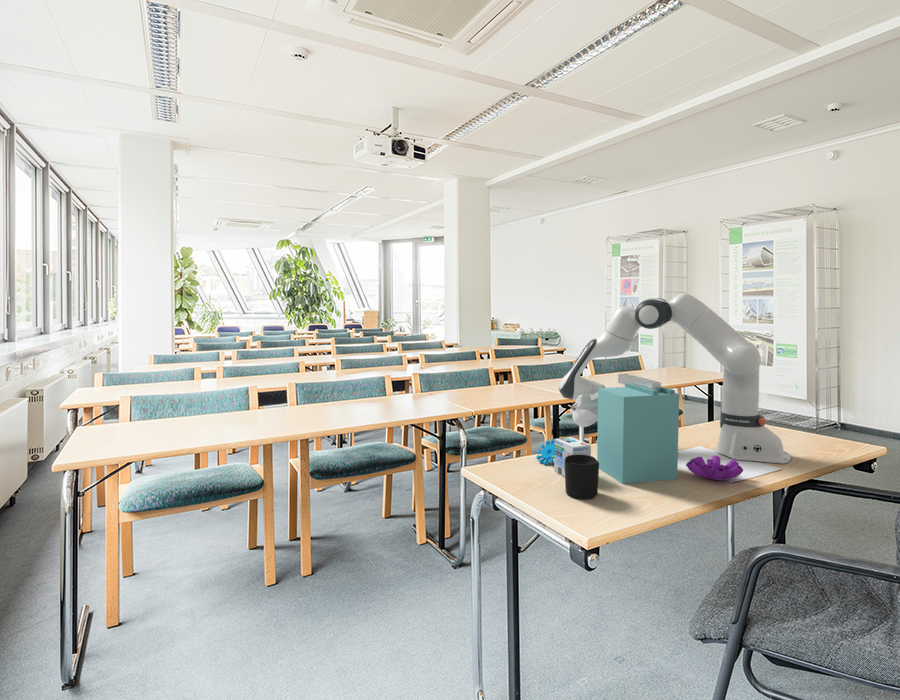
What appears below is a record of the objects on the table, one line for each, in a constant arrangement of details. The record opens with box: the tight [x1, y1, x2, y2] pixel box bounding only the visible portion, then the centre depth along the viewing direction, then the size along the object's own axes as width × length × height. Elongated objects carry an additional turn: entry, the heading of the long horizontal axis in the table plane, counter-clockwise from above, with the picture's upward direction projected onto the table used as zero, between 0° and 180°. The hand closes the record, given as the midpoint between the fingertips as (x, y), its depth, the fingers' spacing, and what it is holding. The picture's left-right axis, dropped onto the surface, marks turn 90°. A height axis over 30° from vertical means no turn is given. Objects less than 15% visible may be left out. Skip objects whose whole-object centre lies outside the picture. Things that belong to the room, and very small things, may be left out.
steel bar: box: [617, 373, 662, 392], centre depth 169 cm, size 20×3×3 cm, turn 11°
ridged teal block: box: [596, 383, 680, 485], centre depth 164 cm, size 16×18×27 cm
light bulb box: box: [553, 436, 592, 478], centre depth 164 cm, size 11×7×11 cm, turn 21°
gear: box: [536, 438, 556, 466], centre depth 177 cm, size 11×6×10 cm
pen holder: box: [564, 455, 600, 500], centre depth 148 cm, size 9×9×10 cm
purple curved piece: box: [685, 455, 744, 481], centre depth 158 cm, size 11×15×10 cm
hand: (612, 393), depth 186 cm, fingers open, 8 cm apart
